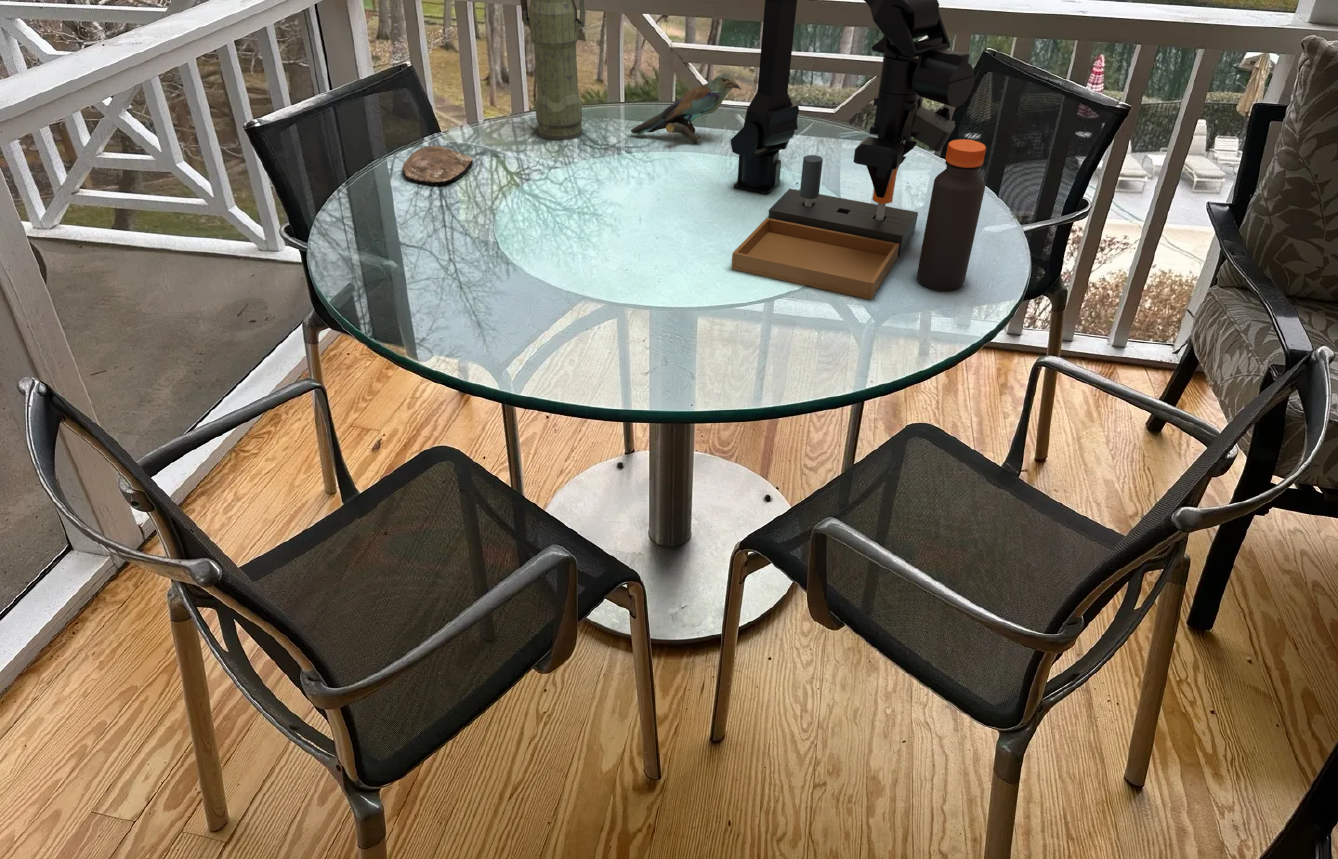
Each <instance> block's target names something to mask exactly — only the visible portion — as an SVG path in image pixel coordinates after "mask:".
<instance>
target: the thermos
mask: <svg viewBox="0 0 1338 859" xmlns="http://www.w3.org/2000/svg"><path fill="white" fill-rule="evenodd" d="M519 1H520V8H521V9H520V10H521V22H522V23H523V24H524V25H525V26H526V27H528V29H529V31H530V32H529V33H530V40H531V42H532V44H533V49H534V52H533V54H534V64H535V79H536V92H537V98H536V102H535V115H536V116H535V118H536V122H537V128H538V129H537V133H538V135H539V137H542V138H544V139H547V140H554V141H565V140H571V139H575V138H578V137H580V136H582V133H583V127H582V120H583V107H582V105H583V104H582V100H581V96H580V94H579V80H578V79H579V78H578V60H577V59H578V58H577V56H578V55H577V42H578V39H579V29H580V28H584V27H585V23H586V10H585V9H586V8H585V5H586V4H585V0H579V18H578V8H577V5H576V2H575V0H530V4H529V8H528V0H519Z"/></svg>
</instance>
